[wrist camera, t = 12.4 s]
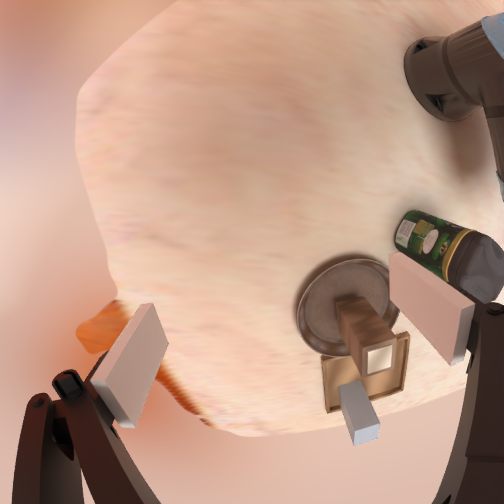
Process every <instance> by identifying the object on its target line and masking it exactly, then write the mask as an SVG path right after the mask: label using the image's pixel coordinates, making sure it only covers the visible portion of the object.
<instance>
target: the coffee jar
mask: <svg viewBox="0 0 504 504" xmlns="http://www.w3.org/2000/svg"><path fill="white" fill-rule="evenodd" d="M395 243H396V247H397V249H398V250H399V251H400V252H401V253H403V254H404V255H406V256H407V257H409V258H410V259H412V260H413V261H415V262H417V263H418V264H420V265H421V266H423V267H424V268H426V269H427V270H428V271H430V272H431V273H433V274H434V275H436V276H437V277H439V278H440V279H442V280H443V281H445V282H451V283H454V284H457V285H459V286H460V287H462V288H463V289H464V290H466V291H467V292H469V294H472V295H473V296H474V297H476V298H477V299H479V300H480V301H481V302H483V303H484V304H486V303H490V302H492V301H494V300H496V298H497V297H498V295H499V293H500V291H501V290H502V288H503V286H504V251H503V250H502V248H501V247H500V246H499V245H498V244H497V243H496V242H495V241H494V240H493V239H492V238H491V237H489V236H487V235H484V234H482V233H480V232H478V231H476V230H471V229H467V228H464V227H461V226H459V225H456V224H453V223H451V222H448V221H445V220H442V219H440V218H437V217H435V216H432V215H429V214H426V213H424V212H421V211H412V212H410V213H408V214H407V215H406V217H405V218H404V219H403V221H402V223H401V224H400V226H399V228H398V231H397V234H396V238H395Z"/></svg>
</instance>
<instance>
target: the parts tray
mask: <svg viewBox="0 0 504 504" xmlns="http://www.w3.org/2000/svg"><path fill="white" fill-rule="evenodd" d="M395 336H396V337H397V342H396V354H395V364H394V369H391V370H388V371H385V372H381V373H378V374H375V375H372V376H368V377H365V378H362V377H361V375H360V373H359V371H358V369H357V367H356V365H355V363H354V361H353V359H352V357H351V356H349V357H330V356H325V355H322V356H321V358H322V368H323V379H324V391H325V403H326V411H327V414H328V413H332V412H336V411H340V410H342V409H341V407H340V404H339V389H338V386H340V385H343V384H347V383H351V382H354V381H358V380H361V382H362V385H363V387H364V389H365V391H366V393H367V395H368V398H369V400H370V402H371V401H375V400H378V399H381V398H384V397H387V396H390V395H392V394H395V393H398V392H401V391H403V388H404V382H405V376H406V369H407V361H408V353H409V344H410V335H409V333H408V332H404V333H401V334H397V335H395Z"/></svg>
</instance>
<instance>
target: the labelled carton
mask: <svg viewBox="0 0 504 504" xmlns="http://www.w3.org/2000/svg"><path fill="white" fill-rule="evenodd" d="M336 308H337V321H338V331H339V333H340V335H341V337H342V339H343V341H344V343H345V345H346V347H347V349H348V351H349V353H350V355H351V357H352V359H353V361H354V363H355V365H356V367H357V369H358V371H359V373H360V375H361V377H362V378H365V377H368V376H372V375H375V374H378V373H381V372H385V371H388V370H391V369H394V364H395V354H396V342H397V337H396V336H395V335H394V333H393V332H392V331H391V330H390V328H389V327H388V326H387V324H386V323H385V322H384V321H383V319H382V318H381V317H380V316H379V314H378V313H377V312H376V311H375V309H374V308H373V307H372V306H371V304H370V303H369V302H368V301H367V299H366V298H365V297H364V296H361V297H357V298H353V299H349V300H345V301H341V302H336Z"/></svg>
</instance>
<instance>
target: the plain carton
mask: <svg viewBox="0 0 504 504" xmlns="http://www.w3.org/2000/svg"><path fill="white" fill-rule="evenodd" d="M338 389H339V404H340V407H341V409H342V412H343V415H344V418H345V421H346V424H347V427H348V430H349V433H350V436H351V439H352V442H353V445H354V446H355V445H358V444H362V443H365V442H368V441H371V440H374V439H377V438H378V433H379V427H380V422H379V420H378V417H377V415H376V413H375V411H374V408H373V406H372V404H371V402H370V400H369V398H368V395H367V393H366V391H365V389H364V387H363V385H362V382H361V380H358V381H354V382H351V383H347V384H343V385H340V386H338Z"/></svg>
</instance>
